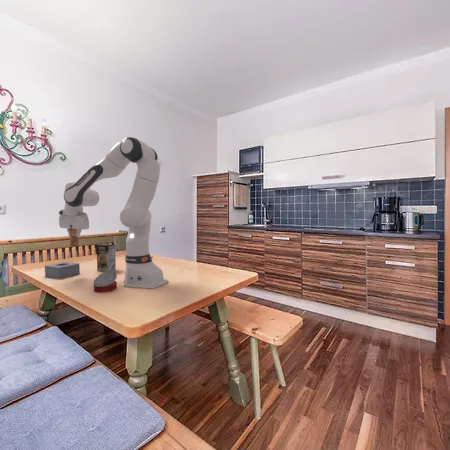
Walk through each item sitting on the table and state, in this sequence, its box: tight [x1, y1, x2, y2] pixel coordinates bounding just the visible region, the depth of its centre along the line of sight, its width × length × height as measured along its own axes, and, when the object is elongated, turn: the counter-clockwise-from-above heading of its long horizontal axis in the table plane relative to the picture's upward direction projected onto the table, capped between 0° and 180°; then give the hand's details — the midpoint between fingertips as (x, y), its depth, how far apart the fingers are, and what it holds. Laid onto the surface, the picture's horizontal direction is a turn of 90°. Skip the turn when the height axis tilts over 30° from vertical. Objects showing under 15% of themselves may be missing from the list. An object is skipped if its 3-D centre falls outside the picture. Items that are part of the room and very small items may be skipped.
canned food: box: [93, 270, 118, 294], centre depth 118 cm, size 11×10×10 cm
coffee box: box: [96, 243, 117, 272], centre depth 155 cm, size 9×6×16 cm
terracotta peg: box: [69, 225, 80, 247], centre depth 141 cm, size 4×4×12 cm
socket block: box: [44, 261, 81, 280], centre depth 144 cm, size 12×12×6 cm
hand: (74, 236), depth 141 cm, fingers closed on terracotta peg, 4 cm apart
